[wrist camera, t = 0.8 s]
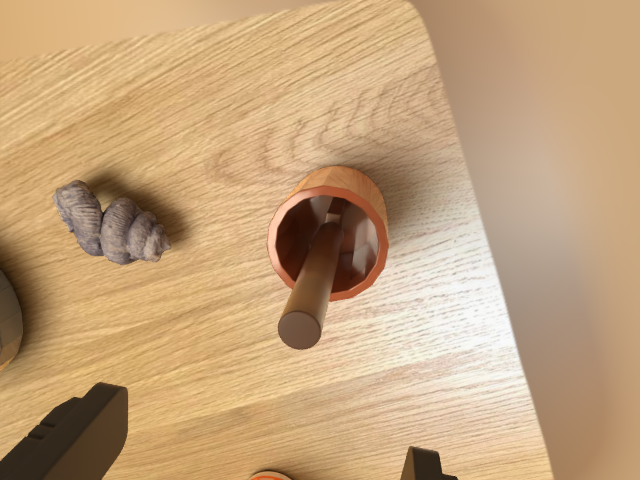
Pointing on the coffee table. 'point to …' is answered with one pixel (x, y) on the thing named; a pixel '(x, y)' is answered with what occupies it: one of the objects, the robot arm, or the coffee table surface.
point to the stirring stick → (314, 283)
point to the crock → (357, 224)
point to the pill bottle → (269, 476)
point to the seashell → (110, 226)
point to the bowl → (9, 322)
